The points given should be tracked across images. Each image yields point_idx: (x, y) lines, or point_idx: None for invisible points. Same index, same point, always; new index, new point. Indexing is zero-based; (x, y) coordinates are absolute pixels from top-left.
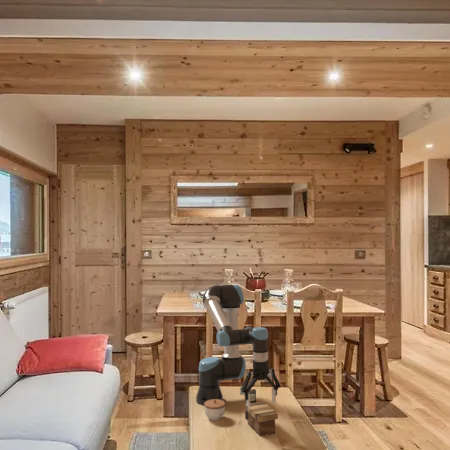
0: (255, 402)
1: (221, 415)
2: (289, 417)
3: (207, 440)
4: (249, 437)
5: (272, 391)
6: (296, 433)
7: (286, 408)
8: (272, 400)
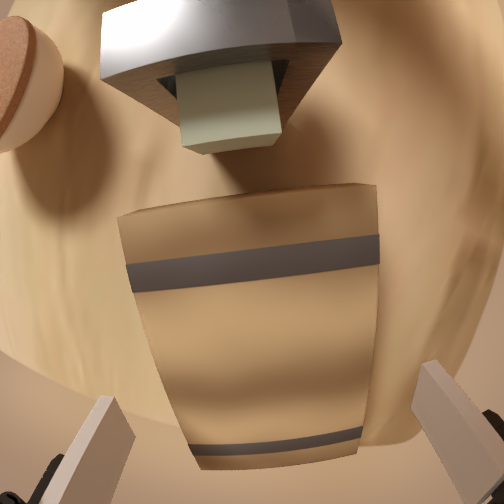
0: (290, 105)
1: (35, 133)
2: (469, 192)
3: (11, 330)
4: None
5: (476, 462)
6: (406, 373)
7: (482, 79)
8: (427, 385)
